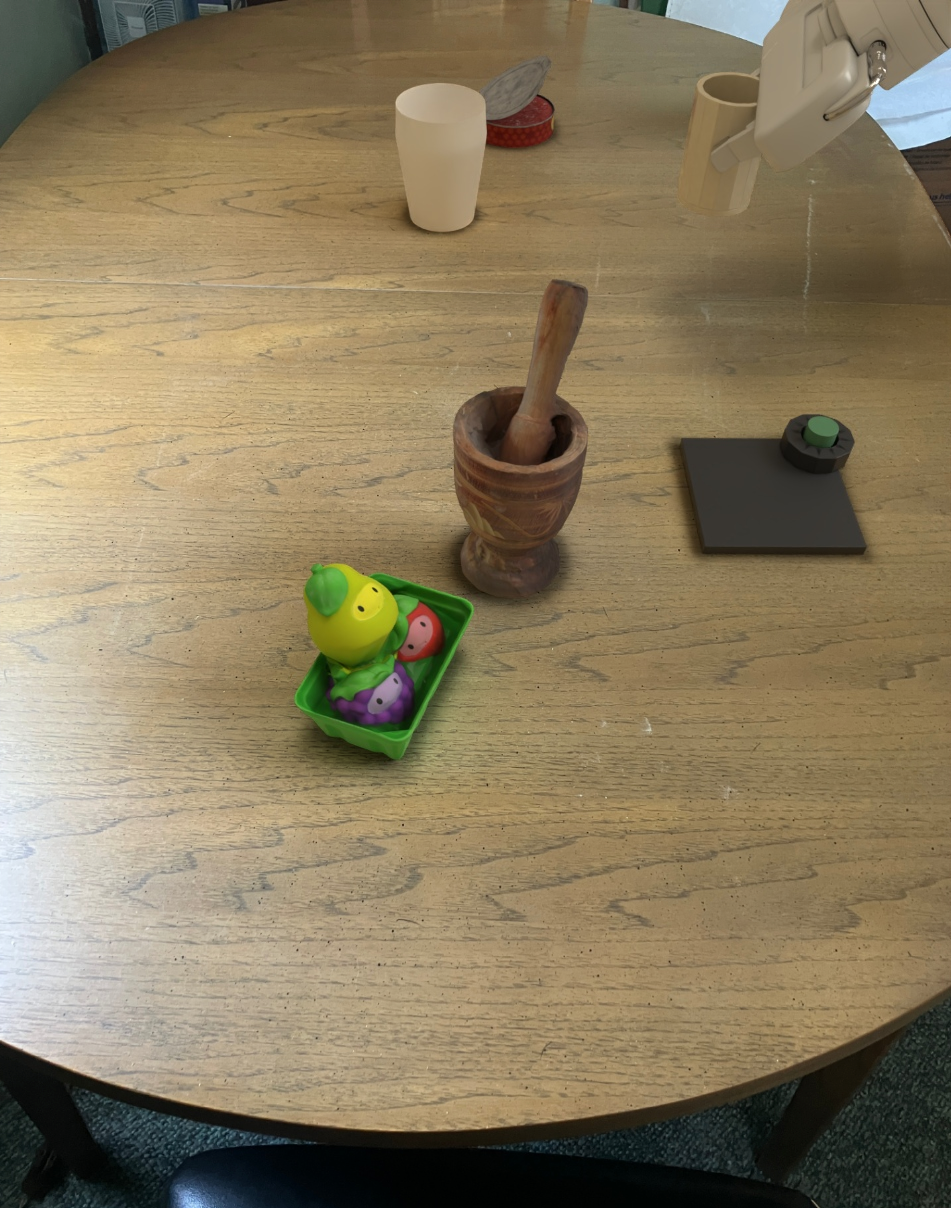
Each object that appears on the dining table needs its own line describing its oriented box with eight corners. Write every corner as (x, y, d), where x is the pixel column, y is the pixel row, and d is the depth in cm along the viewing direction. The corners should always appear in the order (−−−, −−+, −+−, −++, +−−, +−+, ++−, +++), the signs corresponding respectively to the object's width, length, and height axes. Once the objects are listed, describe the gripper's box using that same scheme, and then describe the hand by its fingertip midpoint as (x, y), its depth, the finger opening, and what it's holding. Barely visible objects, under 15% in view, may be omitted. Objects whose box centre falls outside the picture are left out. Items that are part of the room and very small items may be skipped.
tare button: (829, 429, 76) (835, 416, 75) (837, 449, 75) (842, 436, 74) (800, 429, 76) (804, 415, 75) (806, 449, 75) (811, 436, 74)
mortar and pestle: (462, 490, 75) (464, 259, 59) (572, 498, 74) (602, 268, 59) (447, 603, 68) (445, 374, 52) (568, 612, 67) (602, 385, 52)
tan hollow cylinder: (742, 181, 83) (768, 72, 76) (755, 217, 80) (784, 106, 73) (672, 180, 83) (691, 71, 76) (682, 216, 80) (703, 105, 73)
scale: (833, 442, 79) (844, 414, 77) (876, 559, 71) (890, 532, 68) (676, 441, 79) (682, 412, 77) (701, 559, 71) (709, 531, 68)
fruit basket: (409, 787, 58) (400, 684, 50) (282, 740, 60) (252, 633, 52) (477, 649, 65) (480, 536, 56) (361, 611, 67) (346, 496, 58)
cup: (385, 210, 102) (378, 92, 92) (461, 191, 104) (461, 75, 95) (421, 251, 97) (418, 131, 87) (499, 230, 99) (504, 112, 90)
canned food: (530, 190, 114) (521, 133, 104) (459, 159, 116) (445, 100, 107) (577, 115, 115) (573, 51, 105) (506, 85, 117) (496, 21, 108)
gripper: (910, 118, 64) (731, 234, 73) (895, 7, 77) (745, 117, 85) (864, 39, 61) (684, 169, 70) (857, -63, 74) (705, 58, 83)
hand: (717, 140), depth 78 cm, fingers closed on tan hollow cylinder, 6 cm apart
